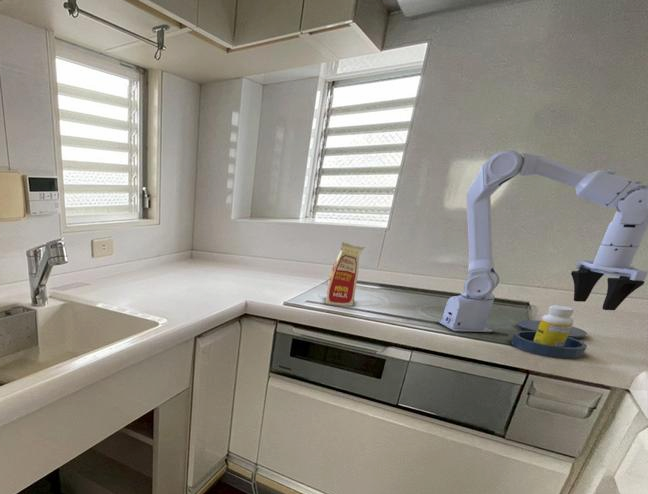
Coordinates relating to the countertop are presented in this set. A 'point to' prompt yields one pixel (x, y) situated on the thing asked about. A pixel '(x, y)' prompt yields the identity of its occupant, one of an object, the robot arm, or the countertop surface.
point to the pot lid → (533, 325)
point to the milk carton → (344, 276)
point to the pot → (569, 350)
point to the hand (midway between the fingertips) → (593, 305)
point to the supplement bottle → (555, 326)
